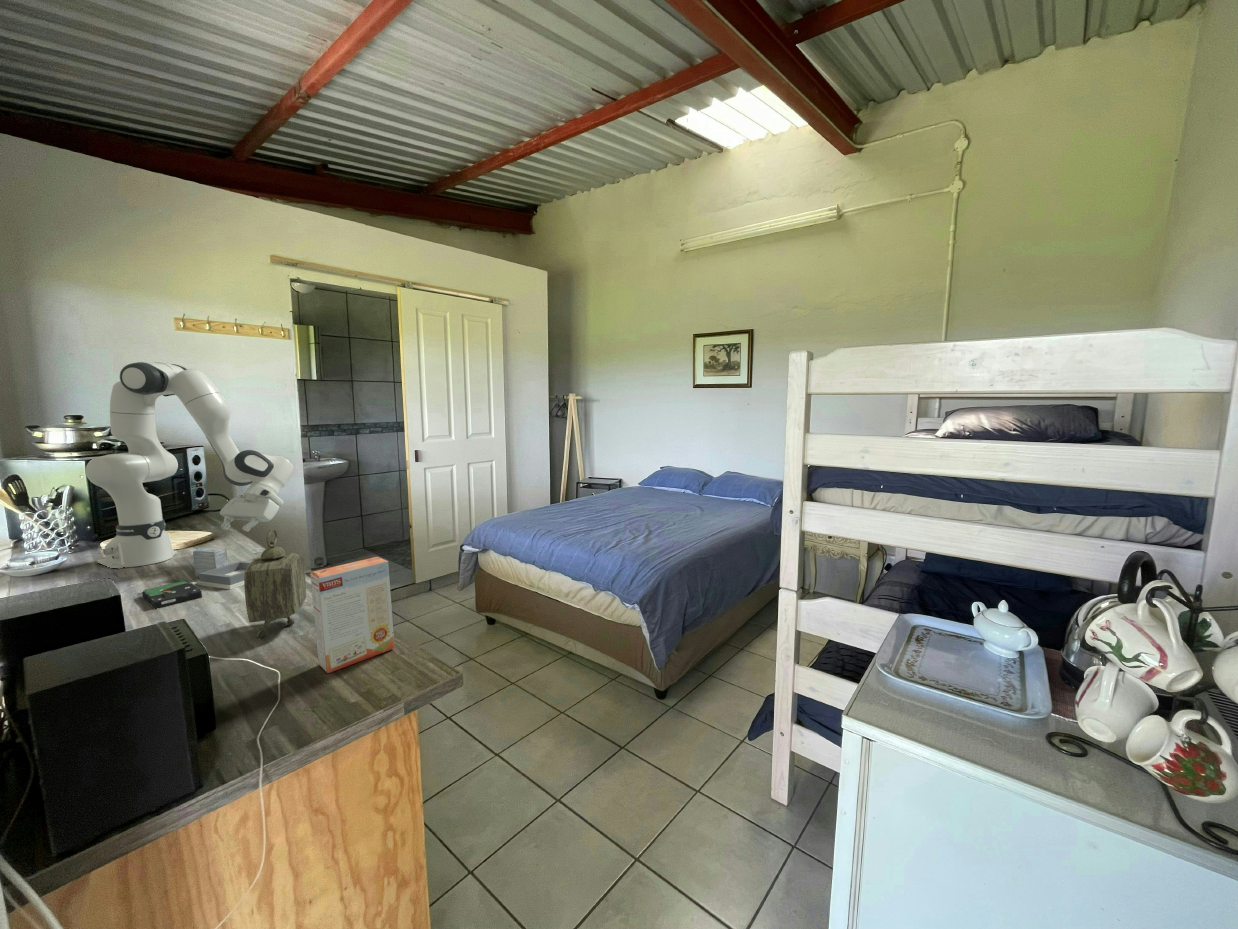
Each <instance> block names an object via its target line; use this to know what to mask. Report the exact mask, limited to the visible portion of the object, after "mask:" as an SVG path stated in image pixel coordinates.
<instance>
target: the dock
mask: <svg viewBox="0 0 1238 929" xmlns="http://www.w3.org/2000/svg"><path fill="white" fill-rule="evenodd" d="M251 562H252V561H248V560H247V561H245V560H240V561H235V562H233V563H228V565H225V566H222V567H219V568H215V569H212V570H209V571H206V572H202V573H199V576H198V577H199V580H198V581H196V582H195V583H196V585H197V586H203V587H208V588H209V587H210V588H217V589H225V590H232V589H236V588H238V587H241V586H244V574H245V570H246V568H247V566H248V565H249V564H250V563H251Z"/></svg>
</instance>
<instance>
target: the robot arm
mask: <svg viewBox="0 0 1238 929" xmlns="http://www.w3.org/2000/svg"><path fill="white" fill-rule="evenodd" d="M161 396H163V397H171V396H177V398H178V399H179V400H180V401H181V404H183V406H184V408H185V409H186V411H187V412H188V413H189V415H190V416H191V417H192V418H193V421H195V422H196V424H197V426H198V428H200V430H201V431H202V433H203V434H204V436H205V437H206V440H207V441H208V443H209V445H210V446H211V447H212V449H213V451H214V453H215V455H216V456H217V457H218V459H219V461H220V463H221V465H222V474H223V476H224V479H225V480H226V481H227V482H228V483H230V484H232V485H233V486H237V487H244V486H245V487H246V486H248V488H247V489H246V490H245V491H244V493H243V494H240V495H238V496H235V497H233V498H231V499H230V500H229V501H227V503H226V504H225V505H224V506H223V507H222V508H221V509H220V511H219V515H220V516H222V517H223V523H222V524H221V526H220V529H222V530H224V531H225V530H227V531H228V530H229V529H230V528H231V523H232V522H233V521H235V520H236V521H237V520H238V521H248V523H246V524H244V525H243V526H242V527H241V530H242V532H250V530H252V528H254V527H255V526H256V525H258V524H259V523H260V522H262V523H263V522H264V523H267V522H270V521H271V520H273V518H274V517H275V515H276V514H277V513H278V511H279V509H280V507H282V506H283V505H284V500H283V499H282V498H281V497H280V496H278V495H279V493H280V491H281V490H282V489H283V488H284V487H285V486H286V485H287V484H288V481H290V479H291V477H292V476H293V473H294V469H295V467H294V465H293V463H292V461H290V460H289V459H288V458H286V457H285V456H282V455H270V454H265V453H261V452H260V451H257V450H253V449H246V450H242V451H240V450H239V448H238V447H237V445H236V444H235V442H234V440H233V439H232V437H231V435H230V430H229V421H230V418H231V409H230V406H229V404H228V402H227V400H226V398H225V396H224V395H223V394H222V392H221V391H220V390H219V389H218V387H217V386H216V385H215V384H214V382H213V381H212V380H211V379H210V378H209V377H208V376H207V375H206V374H205V373H204V372H203V371H201V370H200V369H199V370H198V369H192V368H191V369H189V368H188V369H187V368H186V367H185V366H182V365H179V364H176V363H175V364H174V363H168V362H167V363H166V362H156V361H154V362H143V361H141V362H140V361H138V362H132V363H129V364H127V365H124V366H123V367H122V369H121V370H120V373H119V381H117V382H116V383H115V384H113V386H112V389H111V394H110V400H109V401H110V402H109V420H110V421H109V422H110V434H111V436H112V437H114V438H115V439H117V440H119V441H121V442H123V443H124V444H125V445H126V447H127V450H128V452H121V453H111V454H110V453H109V454H105V455H102V456H98V457H94V458H92V459H91V460H89V462H87V464H86V466H85V475H86V478H87V479H88V480H89V481H90V483H92V484H93V485H95V486H97V487H100V488H102V489H103V490H104V491H106V492H107V493H108V495H109V496H110V497H111V498H112V501H113V502H114V504H115V508H116V513H117V514H116V515H117V520H118V524H117V525H115V526H114V527H115V528H114V529H115V530H116V532H115V534H116V535H115V536H114V538H112V539H111V540H110V541H109V542H108V543H106V545H105V546H104V548H103V550H102V553H103V555H104V557H103V558H99V559H97V560H96V561H98V562H100V563H102V564H104V565H107V566H109V567H111V568H118V569H124V568H123V567H125V568H134V567H141V566H146V565H147V566H148V565H153V564H156V563H157V564H158V563H161V562H164V561H168V560H170V559H172V558H173V557H174V556H175V555H177V554H178V552H177V550H174V547H173V542H172V540H171V536H170V533H169V532H167V531H166V522H165V519H164V518H163V511H162V503H161V502H162V501H161V499H160V497H158V496H157V495H154V494H152V493H148V492H147V490H146V489H145V488H144V485H143V483H150V482H156V481H161V480H164V479H167V478H170V477H172V476H174V475H175V474H176V473H177V470H178V468H179V464H178V463H179V462H178V459H177V458H176V456H175V455H174V454H173V453H171V452H169V451H168V450H166V449H165V448H164V446H163V445H162V444H161V442H160V440H159V437H158V432H157V422H156V420H157V419H156V401H157V399H158V398H159V397H161ZM111 568H110V569H111Z"/></svg>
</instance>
